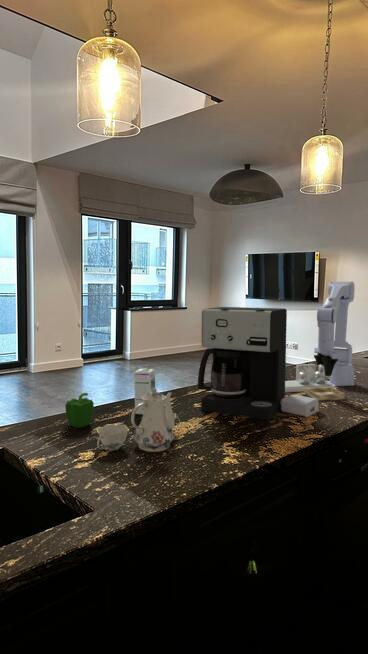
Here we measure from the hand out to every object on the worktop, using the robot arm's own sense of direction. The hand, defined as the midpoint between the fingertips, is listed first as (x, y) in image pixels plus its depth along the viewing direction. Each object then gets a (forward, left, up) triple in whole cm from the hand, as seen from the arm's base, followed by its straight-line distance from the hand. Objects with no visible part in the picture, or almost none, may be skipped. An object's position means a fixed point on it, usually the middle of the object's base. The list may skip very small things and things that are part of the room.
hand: (325, 374), depth 173 cm
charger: (+20, +16, -9) cm, 27 cm away
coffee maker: (+37, +9, -9) cm, 39 cm away
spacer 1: (+2, -14, -6) cm, 15 cm away
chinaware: (+72, +39, -9) cm, 83 cm away
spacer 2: (0, 0, -1) cm, 1 cm away
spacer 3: (-5, -14, -6) cm, 16 cm away
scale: (+2, -15, -8) cm, 17 cm away
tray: (0, 0, -8) cm, 8 cm away
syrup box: (+70, +9, -9) cm, 71 cm away
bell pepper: (+91, +20, -9) cm, 94 cm away
